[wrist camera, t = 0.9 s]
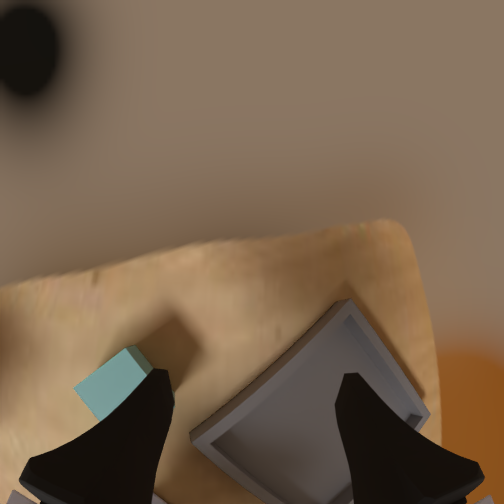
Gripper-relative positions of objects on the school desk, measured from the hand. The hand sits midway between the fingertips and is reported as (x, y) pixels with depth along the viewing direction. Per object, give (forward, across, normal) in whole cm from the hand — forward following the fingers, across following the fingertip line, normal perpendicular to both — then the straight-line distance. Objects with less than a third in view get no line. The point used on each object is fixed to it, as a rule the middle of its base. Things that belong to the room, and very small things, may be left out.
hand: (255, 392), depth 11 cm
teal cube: (+7, +10, +8) cm, 15 cm away
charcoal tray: (+8, -7, +14) cm, 18 cm away
